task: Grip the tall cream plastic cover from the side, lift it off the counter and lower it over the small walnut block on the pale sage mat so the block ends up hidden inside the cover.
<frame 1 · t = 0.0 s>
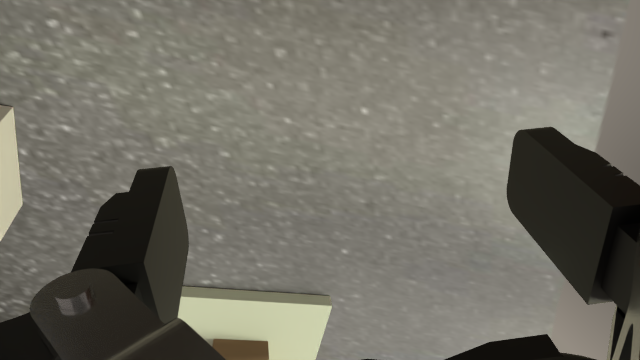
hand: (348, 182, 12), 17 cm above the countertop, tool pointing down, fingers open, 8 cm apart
block: (237, 357, 39), point 1 cm above the countertop, touching mat
mat: (237, 347, 40), on the countertop
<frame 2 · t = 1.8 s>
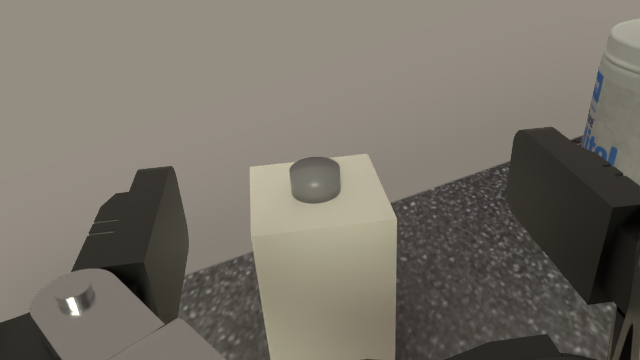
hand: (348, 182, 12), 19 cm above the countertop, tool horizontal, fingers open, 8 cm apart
supplement tub: (633, 217, 42), on the countertop
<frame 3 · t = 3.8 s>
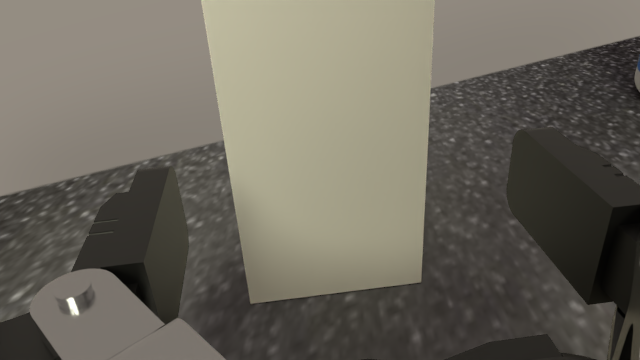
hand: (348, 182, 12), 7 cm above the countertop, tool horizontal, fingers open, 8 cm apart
cover: (325, 242, 22), on the countertop
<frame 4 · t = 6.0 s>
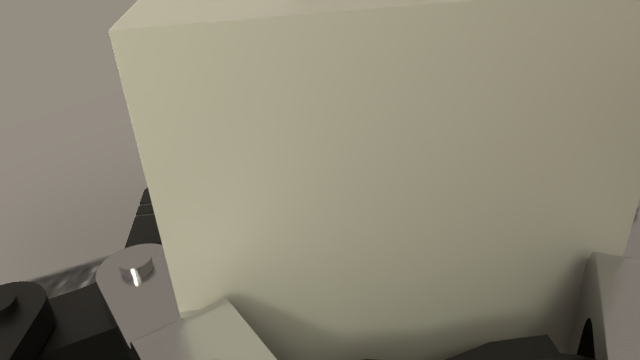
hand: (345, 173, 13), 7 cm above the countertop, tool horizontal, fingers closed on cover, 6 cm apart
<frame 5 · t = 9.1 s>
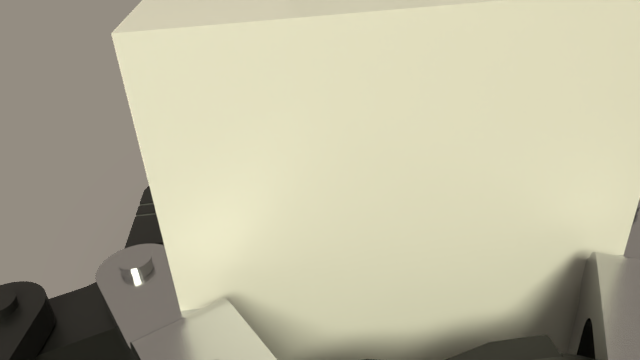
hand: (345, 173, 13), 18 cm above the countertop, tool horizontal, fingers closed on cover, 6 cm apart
when the fingers open (9 cm above the countertop, at t = 12.1 s): cover stays where it is, resting on mat.
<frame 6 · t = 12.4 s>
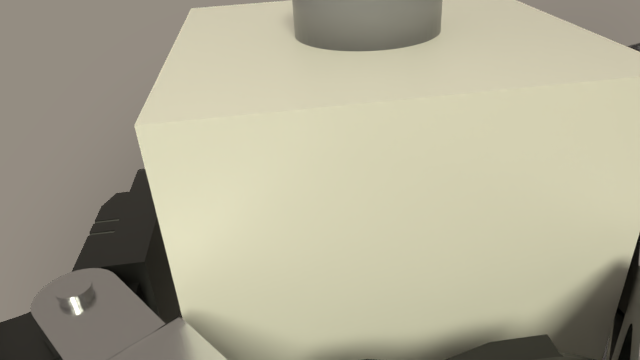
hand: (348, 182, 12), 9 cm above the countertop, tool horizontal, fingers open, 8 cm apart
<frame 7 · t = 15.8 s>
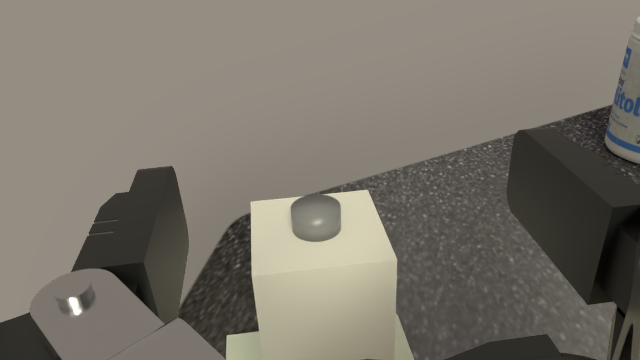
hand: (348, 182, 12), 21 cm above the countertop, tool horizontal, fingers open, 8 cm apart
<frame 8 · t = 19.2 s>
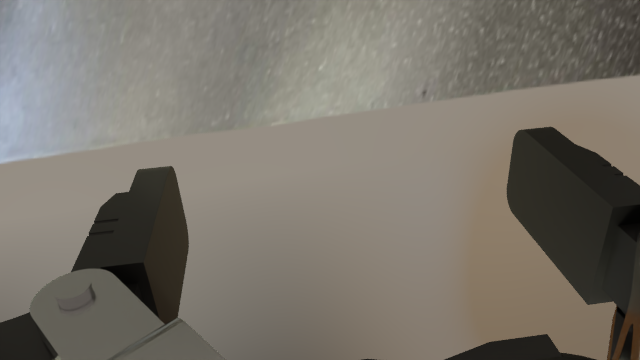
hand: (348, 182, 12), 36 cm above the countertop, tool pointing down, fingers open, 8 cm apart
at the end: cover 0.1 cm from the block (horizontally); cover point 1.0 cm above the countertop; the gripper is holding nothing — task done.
